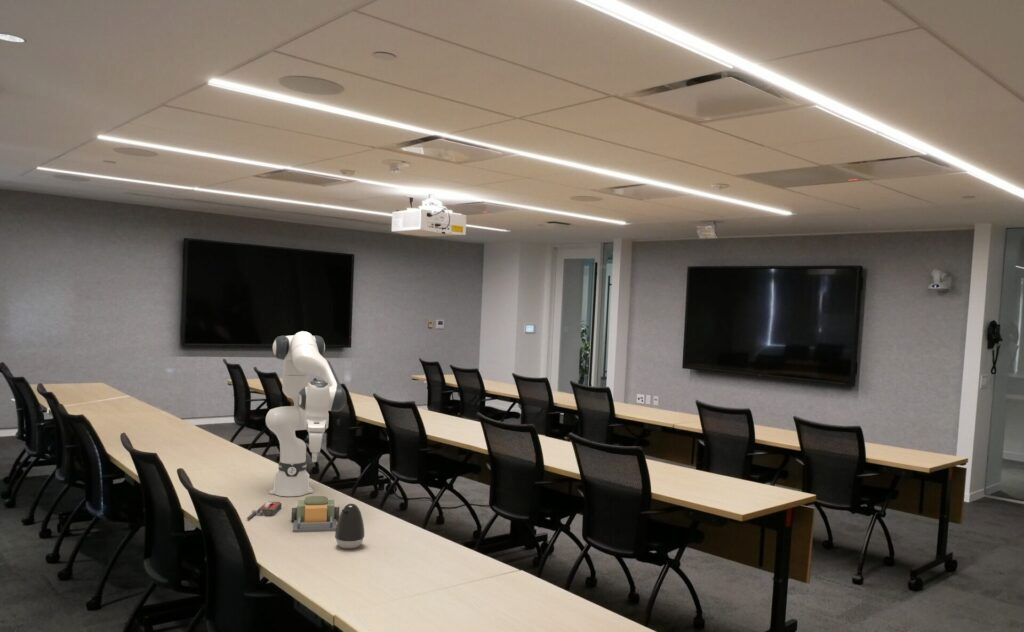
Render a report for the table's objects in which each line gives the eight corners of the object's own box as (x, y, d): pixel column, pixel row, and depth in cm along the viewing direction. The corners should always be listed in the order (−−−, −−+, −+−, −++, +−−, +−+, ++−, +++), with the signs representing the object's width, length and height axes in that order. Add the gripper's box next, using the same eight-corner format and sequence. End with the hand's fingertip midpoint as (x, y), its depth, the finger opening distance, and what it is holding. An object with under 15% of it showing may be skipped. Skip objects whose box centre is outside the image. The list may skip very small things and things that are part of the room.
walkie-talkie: (261, 507, 300) (244, 521, 280) (262, 497, 300) (245, 510, 280) (282, 508, 300) (267, 522, 280) (283, 497, 300) (268, 511, 280)
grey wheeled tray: (292, 517, 286) (293, 496, 286) (338, 516, 291) (339, 495, 291) (289, 532, 268) (290, 509, 268) (339, 530, 273) (340, 508, 272)
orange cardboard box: (304, 523, 276) (305, 505, 276) (327, 522, 278) (327, 504, 278) (304, 527, 272) (305, 508, 272) (327, 526, 274) (327, 508, 274)
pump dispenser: (328, 548, 252) (330, 505, 252) (344, 540, 262) (346, 498, 262) (353, 553, 249) (355, 509, 249) (369, 544, 259) (371, 502, 258)
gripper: (308, 418, 287) (306, 452, 288) (307, 428, 268) (305, 465, 268) (325, 418, 289) (323, 452, 289) (325, 428, 269) (322, 465, 270)
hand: (314, 458), depth 279 cm, fingers open, 8 cm apart
